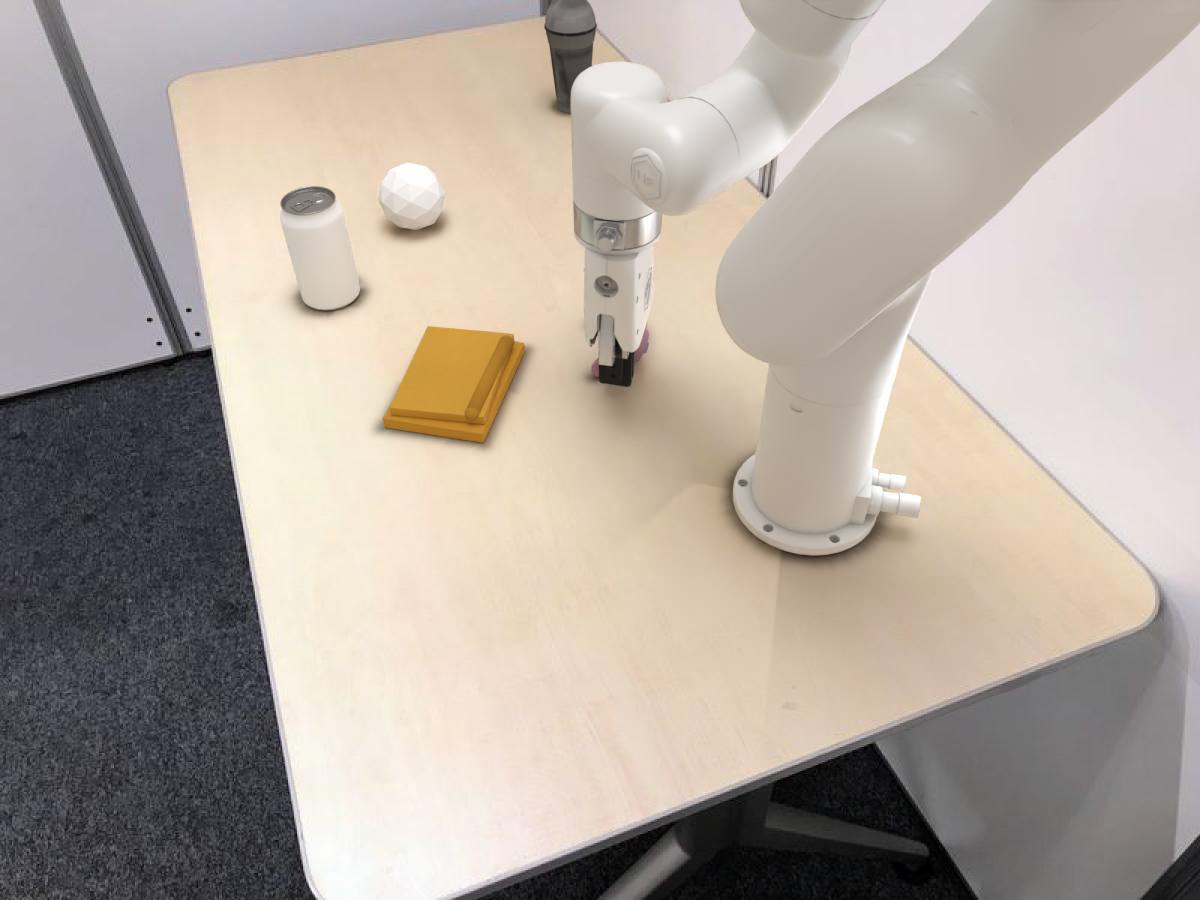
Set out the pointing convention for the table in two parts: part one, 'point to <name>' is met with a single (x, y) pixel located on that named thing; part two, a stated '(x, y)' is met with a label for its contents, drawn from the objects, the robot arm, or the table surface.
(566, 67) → the beverage cup
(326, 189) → the can
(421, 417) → the rag
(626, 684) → the table surface
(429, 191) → the ball
